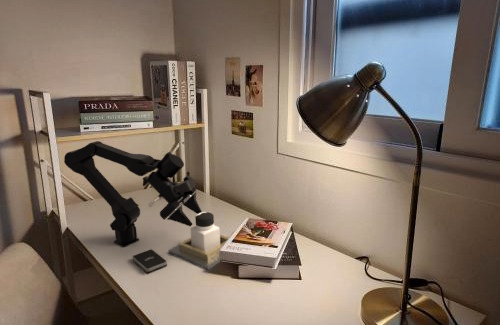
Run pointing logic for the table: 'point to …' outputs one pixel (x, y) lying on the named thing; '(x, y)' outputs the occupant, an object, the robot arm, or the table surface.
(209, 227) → the medicine bottle
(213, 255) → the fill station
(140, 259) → the external hard drive
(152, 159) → the robot arm
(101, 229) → the table surface
